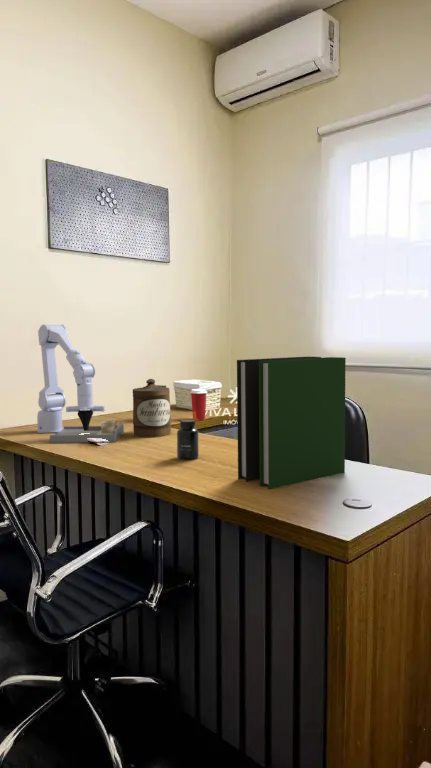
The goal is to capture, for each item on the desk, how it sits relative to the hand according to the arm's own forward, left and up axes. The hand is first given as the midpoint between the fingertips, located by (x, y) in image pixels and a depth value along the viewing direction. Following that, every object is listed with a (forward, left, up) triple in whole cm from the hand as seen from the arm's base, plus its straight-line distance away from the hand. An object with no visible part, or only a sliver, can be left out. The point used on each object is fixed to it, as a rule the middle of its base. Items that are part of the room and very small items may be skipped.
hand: (86, 430), depth 206 cm
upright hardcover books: (+70, -61, -3) cm, 93 cm away
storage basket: (+41, +80, -3) cm, 90 cm away
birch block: (+9, 0, -1) cm, 9 cm away
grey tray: (+1, 0, -3) cm, 3 cm away
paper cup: (+43, +40, -3) cm, 59 cm away
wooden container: (+25, +6, -3) cm, 26 cm away
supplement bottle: (+41, -38, -3) cm, 56 cm away
